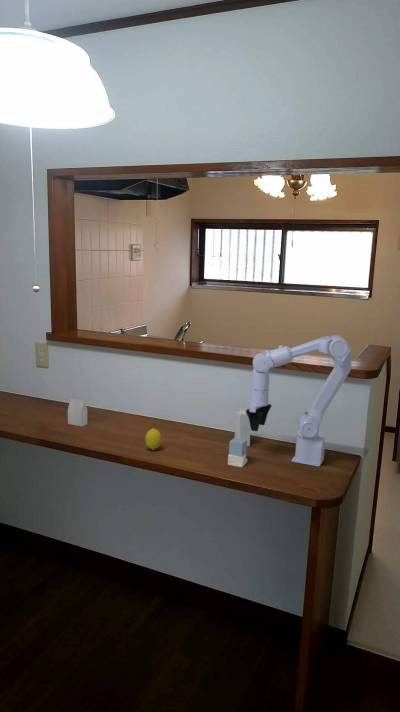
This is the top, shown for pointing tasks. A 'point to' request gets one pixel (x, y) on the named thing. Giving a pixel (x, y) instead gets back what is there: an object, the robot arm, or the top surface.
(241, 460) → the slab top
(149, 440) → the lemon
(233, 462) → the slab bottom
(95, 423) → the top surface
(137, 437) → the top surface
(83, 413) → the white upright block
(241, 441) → the blue cube
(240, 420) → the skincare box
